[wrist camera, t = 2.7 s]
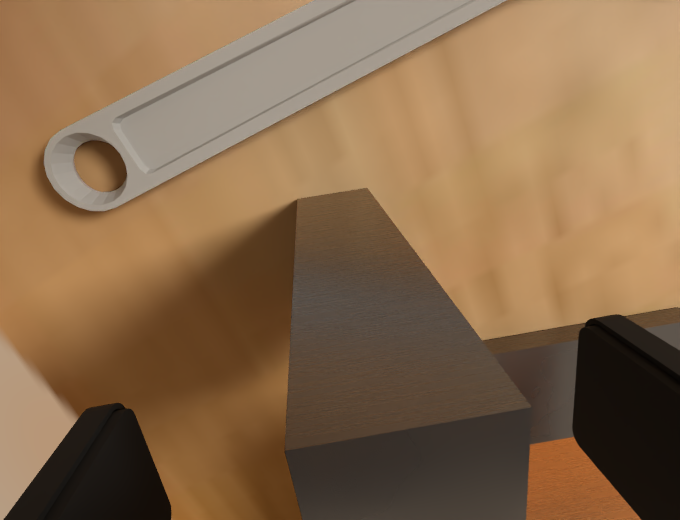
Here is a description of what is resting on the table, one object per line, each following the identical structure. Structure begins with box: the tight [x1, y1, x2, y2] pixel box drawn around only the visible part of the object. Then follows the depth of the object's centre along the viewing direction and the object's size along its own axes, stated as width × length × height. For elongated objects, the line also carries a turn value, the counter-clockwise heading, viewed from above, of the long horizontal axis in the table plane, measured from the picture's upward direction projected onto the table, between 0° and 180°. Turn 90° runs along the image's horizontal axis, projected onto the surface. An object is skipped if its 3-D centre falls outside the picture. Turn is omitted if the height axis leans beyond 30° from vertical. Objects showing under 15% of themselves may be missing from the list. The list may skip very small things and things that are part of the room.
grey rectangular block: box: [285, 188, 532, 520], centre depth 10 cm, size 4×2×11 cm, turn 8°
